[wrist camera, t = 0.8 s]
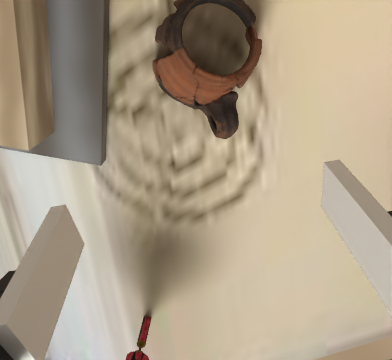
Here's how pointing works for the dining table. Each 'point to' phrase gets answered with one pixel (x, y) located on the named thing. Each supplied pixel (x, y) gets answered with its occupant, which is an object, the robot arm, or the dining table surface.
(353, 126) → the dining table surface
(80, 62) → the build base
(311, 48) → the dining table surface
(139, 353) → the lantern
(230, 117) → the pottery mug
